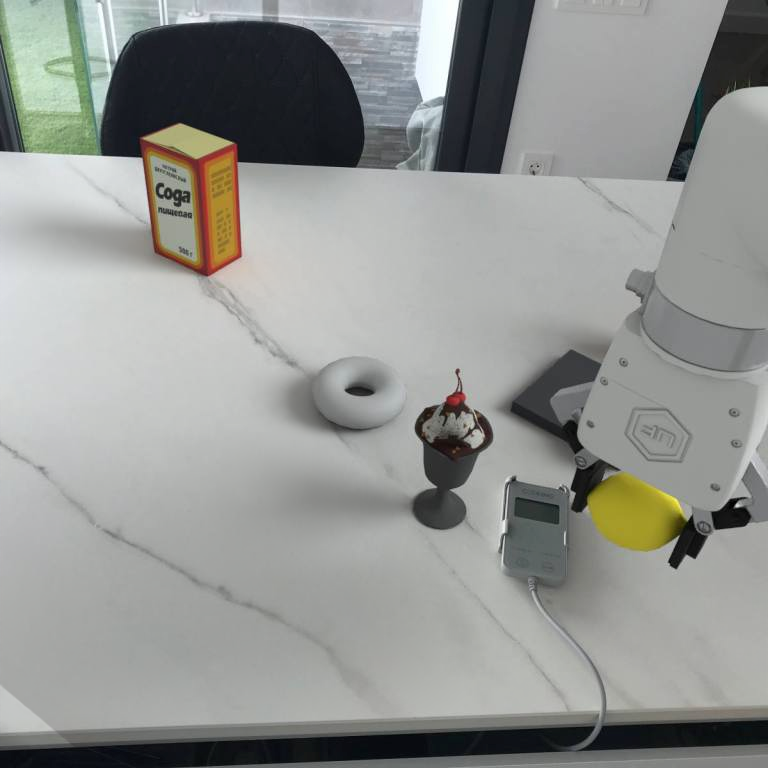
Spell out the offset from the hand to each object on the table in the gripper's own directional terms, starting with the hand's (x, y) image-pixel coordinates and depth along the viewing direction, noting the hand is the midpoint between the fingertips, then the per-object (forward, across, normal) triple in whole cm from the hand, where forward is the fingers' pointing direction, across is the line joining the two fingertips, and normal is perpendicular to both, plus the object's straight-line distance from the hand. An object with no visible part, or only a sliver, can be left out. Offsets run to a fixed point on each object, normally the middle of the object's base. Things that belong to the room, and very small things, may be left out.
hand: (631, 526), depth 55 cm
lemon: (+1, 0, 0) cm, 1 cm away
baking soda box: (+11, -67, +16) cm, 70 cm away
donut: (+12, -32, +8) cm, 35 cm away
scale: (+12, -13, +25) cm, 31 cm away
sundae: (+13, -17, +2) cm, 21 cm away
